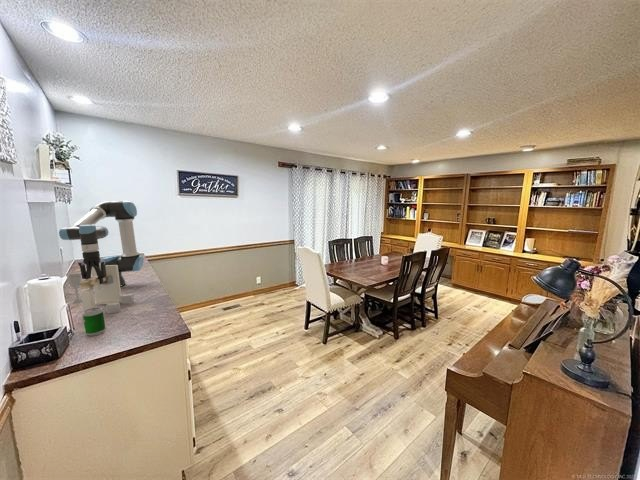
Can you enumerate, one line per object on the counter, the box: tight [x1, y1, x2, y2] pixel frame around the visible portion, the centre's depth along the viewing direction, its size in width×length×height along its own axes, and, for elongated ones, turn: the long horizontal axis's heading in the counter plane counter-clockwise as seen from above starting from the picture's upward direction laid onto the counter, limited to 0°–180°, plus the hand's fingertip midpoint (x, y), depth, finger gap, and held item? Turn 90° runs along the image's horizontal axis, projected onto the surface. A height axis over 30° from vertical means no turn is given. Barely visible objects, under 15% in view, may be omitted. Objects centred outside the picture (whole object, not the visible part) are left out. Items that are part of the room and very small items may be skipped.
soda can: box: [82, 306, 106, 337], centre depth 129 cm, size 8×8×12 cm
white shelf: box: [80, 265, 122, 313], centre depth 159 cm, size 20×14×24 cm
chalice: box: [66, 272, 83, 304], centre depth 170 cm, size 7×7×18 cm
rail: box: [79, 273, 108, 290], centre depth 157 cm, size 18×4×4 cm, turn 10°
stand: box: [105, 293, 135, 314], centre depth 161 cm, size 18×6×5 cm, turn 10°
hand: (96, 289), depth 158 cm, fingers closed on rail, 4 cm apart
